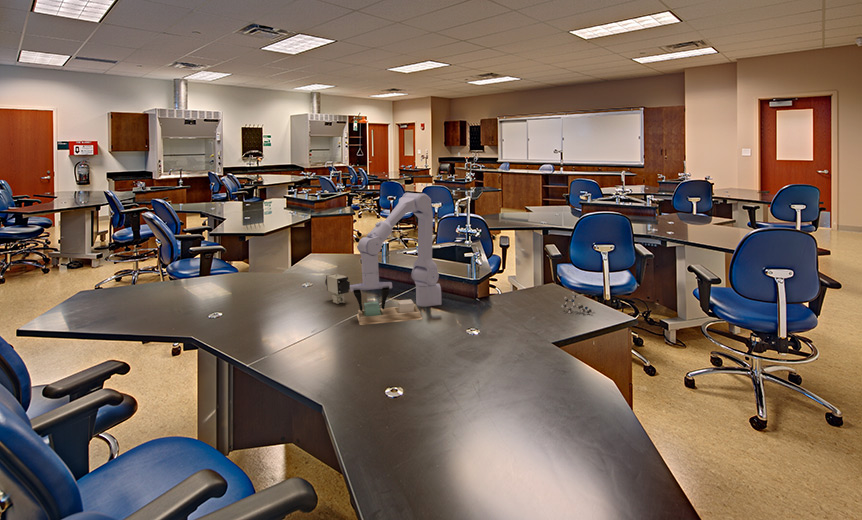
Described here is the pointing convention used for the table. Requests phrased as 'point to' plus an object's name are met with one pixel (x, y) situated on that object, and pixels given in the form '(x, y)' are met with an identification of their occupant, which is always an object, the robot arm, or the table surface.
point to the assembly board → (388, 316)
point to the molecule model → (577, 306)
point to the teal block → (371, 309)
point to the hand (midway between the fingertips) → (372, 309)
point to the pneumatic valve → (337, 286)
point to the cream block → (405, 306)
